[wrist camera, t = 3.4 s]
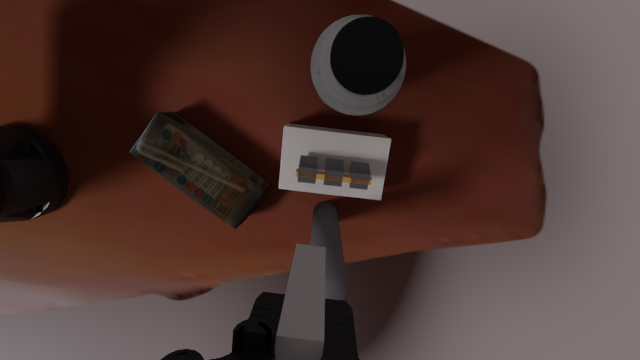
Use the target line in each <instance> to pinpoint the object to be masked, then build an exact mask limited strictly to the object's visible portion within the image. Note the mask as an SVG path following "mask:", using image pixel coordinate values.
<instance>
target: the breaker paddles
mask: <svg viewBox="0 0 640 360" xmlns="http://www.w3.org/2000/svg"><path fill="white" fill-rule="evenodd" d="M317 165H318V157H312V156H304V155H301V157H300V162H299V169H298V168H297V169H296V177H298V181H297V182H303V183H312V184H315V182H316V179H321V180H324V185H329V186H338V187H341V186H342V182H347V183H349V188H355V189H364V190H367V189H368V185H371V182H372V178H371V177H370V176H371V173H370V167H369V163H364V162H355V161H351V167H350V172H349V174H344V160H338V159H329V158H326V164H325V171H317Z"/></svg>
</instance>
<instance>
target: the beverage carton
mask: <svg viewBox="0 0 640 360" xmlns="http://www.w3.org/2000/svg"><path fill="white" fill-rule="evenodd" d="M130 153H131V154H132V155H134V156H135V157H136V158H138V159H139V160H140V161H141V162H143V163H144V164H145V165H147V166H148V167H150V168H151V169H152V170H153V171H155V172H156V173H157V174H159V175H160V176H162V177H163V178H164V179H166V180H167V181H168V182H170V183H171V184H172V185H174V186H175V187H177V188H178V189H179V190H181V191H182V192H183V193H185V194H186V195H187V196H189V197H190V198H191V199H193V200H194V201H196V202H197V203H198V204H200V205H201V206H203V207H204V208H205V209H207V210H208V211H209V212H211V213H212V214H214V215H215V216H216V217H218V218H219V219H221V220H222V221H223V222H225V223H226V224H228V225H229V226H231V227H232V228H233V229H236V228H237V227H238V226H239V225H240V224H242V223H243V222H244V221H245V220H246V219H247V217H248V216H249V215H250V214H251V213H252V212H253V211H254V209H255V208H256V207H257V206H258V205H259V203H260V202H261V201H262V199H263V197H264V196H265V194H266V193H267V191H268V189H269V187H270V184H269V183H268V182H267V181H266V180H264V179H263V178H262V177H261V176H259V175H258V174H257V173H256V172H254V171H253V170H252V169H250V168H249V167H248V166H246V165H245V164H244V163H242V162H241V161H240V160H238V159H237V158H236V157H234V156H233V155H232V154H230V153H229V152H228V151H226V150H225V149H224V148H222V147H221V146H220V145H218V144H217V143H216V142H214V141H213V140H212V139H210V138H209V137H208V136H206V135H205V134H204V133H202V132H201V131H200V130H198V129H197V128H195V127H194V126H193V125H191V124H190V123H188V122H187V121H185V120H184V119H183V118H181V117H180V116H179V115H177V114H176V113H174V112H158V113H156V115H155V116H154V117H153V119H152V120H151V122H150V123H149V125H148V126H147V128H146V129H145V131H144V132H143V134H142V135H141V136H140V138H139V139H138V141H137V142H136V143H135V145H134V146H133V147H132V149H131V151H130Z"/></svg>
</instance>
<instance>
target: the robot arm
mask: <svg viewBox="0 0 640 360" xmlns="http://www.w3.org/2000/svg"><path fill="white" fill-rule="evenodd" d="M67 184H68V179H67V172H66V168H65V165H64V163H63V161H62V159H61V157H60V155H59V154H58V152H57V151H56V149H55V148H54V147H53V146H52V145H51V144H50V143H49V142H48V141H47V140H46V139H44V138H43V137H42V136H40V135H38V134H37V133H35V132H33V131H31V130H28V129H25V128H22V127H17V126H0V222H14V221H26V220H31V219H34V218H37V217H40V216H42V215H45V214H47V213H49V212H51V211H53V210H54V209H55V208H57V207H58V206H59V204H60V203H61V202H62V200H63V199H64V197H65V194H66V191H67ZM325 259H326V247H320V246H311V245H303V244H296V249H295V253H294V258H293V262H292V267H291V271H290V276H289V280H288V285H287V289H286V294H277V293H269V292H263V293H262V294H261V295H260V296H259V297H257V299H256V300H255V303H254V306H253V309H252V311H251V314H250V317H249V319H248V320H245V321H242V322H241V323H239V324H238V325H237V326H236V327H235V328H234V330H233V342H232V343H233V344H232V352H231V353H230V354H229V355H226V356H224V357H221V358H217V359H211V360H359V358H358V353H357V345H356V337H355V329H354V320H353V311H352V308H351V307H350V305H349V304H348V303H347V301H343V300H334V299H326V298H325ZM161 360H204V359H203V357H202V356H201V354H200V353H198V352H197V351H195V350H189V349H184V350H177V351H175V352H172V353H170V354H168V355H167V356H165V357H164V358H162V359H161Z"/></svg>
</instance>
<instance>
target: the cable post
mask: <svg viewBox="0 0 640 360" xmlns="http://www.w3.org/2000/svg"><path fill="white" fill-rule="evenodd" d="M311 246H320V247H326V259H325V298H326V299H334V300H342V299H343V298H344V297H345V295H346V292H347V280H346V273H345V265H344V258H343V250H342V243H341V236H340V229H339V221H338V214H337V209H336V207H335V205H334V204H332V203H331V202H327V201H323V202H320V203H318V204H317V205H316V206H315V208H314V211H313V222H312V235H311Z"/></svg>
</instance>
